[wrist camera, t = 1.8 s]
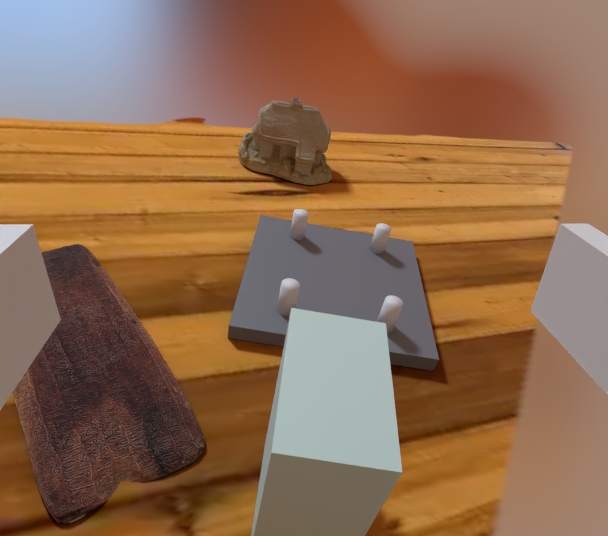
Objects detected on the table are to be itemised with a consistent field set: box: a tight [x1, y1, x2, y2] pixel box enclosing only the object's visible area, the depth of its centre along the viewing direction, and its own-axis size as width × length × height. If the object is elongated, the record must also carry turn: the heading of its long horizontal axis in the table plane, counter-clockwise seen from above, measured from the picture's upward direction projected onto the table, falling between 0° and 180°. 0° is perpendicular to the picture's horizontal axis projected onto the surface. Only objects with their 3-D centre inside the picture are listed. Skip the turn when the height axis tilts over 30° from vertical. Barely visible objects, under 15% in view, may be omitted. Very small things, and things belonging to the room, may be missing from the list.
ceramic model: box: [238, 98, 332, 185], centre depth 63 cm, size 14×11×10 cm
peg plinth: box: [228, 209, 439, 371], centre depth 44 cm, size 18×18×4 cm
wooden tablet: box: [13, 244, 205, 524], centre depth 35 cm, size 26×2×10 cm
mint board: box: [251, 308, 402, 536], centre depth 24 cm, size 5×8×13 cm, turn 176°
